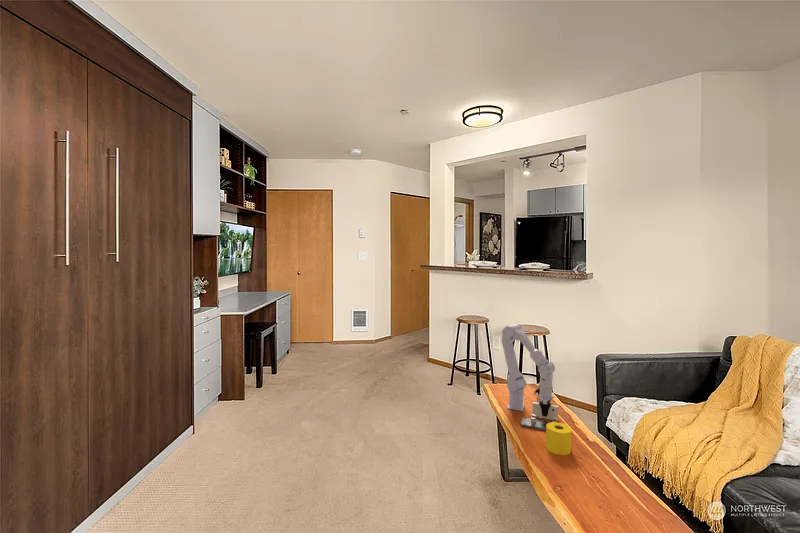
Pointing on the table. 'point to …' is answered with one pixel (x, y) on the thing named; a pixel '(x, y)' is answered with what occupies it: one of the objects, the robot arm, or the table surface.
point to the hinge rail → (535, 423)
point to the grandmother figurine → (538, 394)
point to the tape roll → (558, 438)
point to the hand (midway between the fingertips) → (545, 413)
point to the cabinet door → (551, 412)
